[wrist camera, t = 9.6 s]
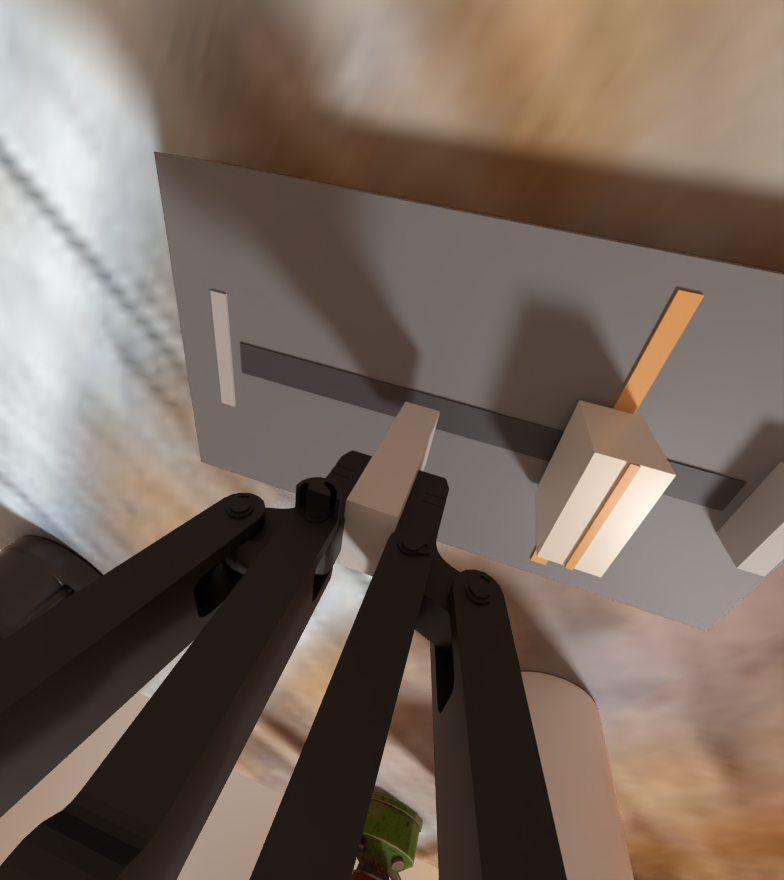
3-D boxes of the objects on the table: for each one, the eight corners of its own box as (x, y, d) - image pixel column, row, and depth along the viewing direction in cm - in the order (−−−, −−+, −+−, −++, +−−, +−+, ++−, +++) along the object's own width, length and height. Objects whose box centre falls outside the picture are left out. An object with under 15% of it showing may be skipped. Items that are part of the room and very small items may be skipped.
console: (230, 438, 27) (177, 479, 23) (204, 159, 18) (110, 144, 14) (685, 584, 22) (722, 669, 18) (951, 304, 13) (1141, 347, 9)
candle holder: (517, 647, 29) (514, 869, 19) (637, 706, 29) (697, 965, 19) (463, 695, 35) (439, 887, 25) (563, 745, 34) (579, 962, 24)
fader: (534, 493, 18) (536, 558, 15) (579, 400, 15) (595, 454, 12) (586, 509, 18) (601, 579, 14) (642, 416, 15) (677, 477, 11)
